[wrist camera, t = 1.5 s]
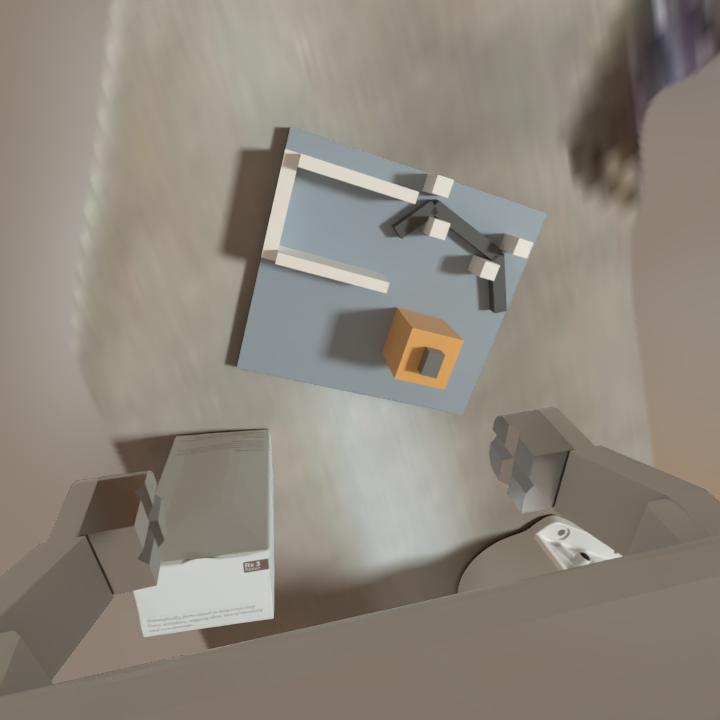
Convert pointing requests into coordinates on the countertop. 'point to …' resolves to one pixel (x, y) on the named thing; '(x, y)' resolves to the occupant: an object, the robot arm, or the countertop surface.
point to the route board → (379, 270)
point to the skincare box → (214, 535)
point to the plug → (421, 349)
